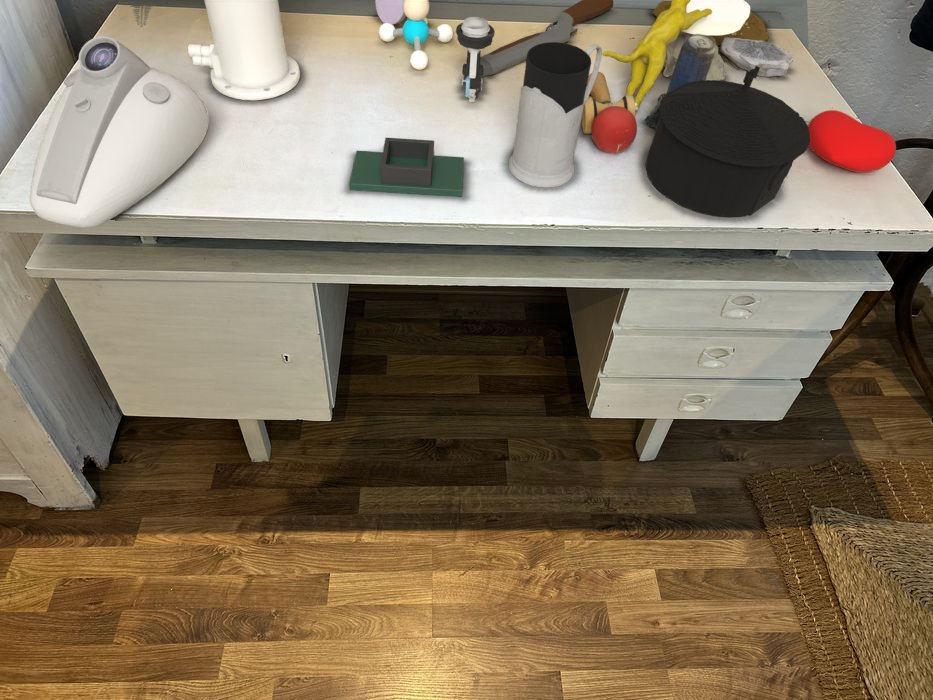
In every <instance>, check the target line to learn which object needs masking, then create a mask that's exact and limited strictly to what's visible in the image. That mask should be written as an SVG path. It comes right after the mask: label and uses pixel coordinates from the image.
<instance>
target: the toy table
mask: <svg viewBox="0 0 933 700" xmlns="http://www.w3.org/2000/svg"><path fill="white" fill-rule="evenodd" d="M374 2H375V10H376V14H377V16H378V17H379V19H380V21H382V22H383V24H384V23H390V24H392V25H393V26H394V25H396V24H400V23H401V22H403V21H404V19H405V18H406V17H407V16H406V15H405V13H404V11H403V0H375V1H374ZM423 20H424V21H425V22H426V23H427V25H428V24H429V20H428V17H427V16H426V17H425V18H424V19H423Z"/></svg>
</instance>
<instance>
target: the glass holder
mask: <svg viewBox="0 0 933 700" xmlns="http://www.w3.org/2000/svg"><path fill="white" fill-rule="evenodd" d="M594 50H596V54H595V61H594V64H593V68H592V72H591V73H592V75H591V78H590V81H589V83H588V86H587V82H588V77H589V75H590V71H591V66H592V59H591V56H590V55H591V54H592V53H593V51H594ZM602 57H603V48H602V47H601V46H600V45H599V44H591V45H589V46H588V47H587V48H586V49H585V50H583V48H580V47H578V46H576V45H573V44H569V43H566V42H565V43H558V42H548V43H542V44H538V45H536V46H534V47H532V48H531V49H530V50H529V51H528V53H527V59H526V60H525V66H524V67H525V68H524V75H523V83H522V84H523V85H522V87H521V89H520V96H519V104H518V111H517V120H516V128H515V134H514V135H515V136H514V144H513V152H512V154H511V156H510V157H509V160H508V164H507V165H508V169H509V172H510V173H511V174H512V175H513V176H514V178H516V179H517V180H518V181H520V182H522V183H524V184H526V185H529V186H532V187H537V188H554V187H559V186H561V185H564V184H566V183H568V182H569V181H571V179H572V178H573V176H574V174H575V165H574V157H575V152H576V148H577V142H578V137H579V132H580V128H581V124H582V114H583V109H584V104H585V103H586V101H587V99H588V97H590V95H591V93H590V92H591V90H592V88H593V85H594V83H595V80H596V77H597V74H598V72H600V66H601V62H602ZM586 86H587V87H586Z"/></svg>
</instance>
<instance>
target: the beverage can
mask: <svg viewBox="0 0 933 700" xmlns="http://www.w3.org/2000/svg"><path fill="white" fill-rule="evenodd" d="M714 55H715V43H714V41H713V39H711V38H710V37H708V36H706V35H702V34H695V35H694V36H690V37H688V38H687V39H686V40H685V41H684V43H683V44H682V47H681V50H680V53H679V56H678V59H677V62H676V65H675V68H674V72H673V75H672V76H671V78H670V81H669V84H668V87H667V91H666V93H665V92H664V93H661V94H659V96H658V97H657V104H656V105H655V106H654V107H653V109H652V111H651V113H650V114H649V115H646V117H645V119H644V122H645V123H644V124H647V126H648V128H653V129H655V130H656V128H657V125H658V121H659V118H660V113H659V106H660V101H661V100H662V98H663V97H664V96H665V94H667V93H669V92H670V91H672V90H674V89H676V88H678V87H680V86H682V85H684V84H686V83H689V82H694V81H700V80H703V81H705V80H706V77H707V74H708V71H709V69H710V66H711V63H712V60H713V58H714Z"/></svg>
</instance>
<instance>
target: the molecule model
mask: <svg viewBox="0 0 933 700" xmlns="http://www.w3.org/2000/svg"><path fill="white" fill-rule="evenodd" d="M403 11H404V13H405V15H406V17H407V19H406V20H405V22H404V23H403V25H402V27H399V28H396V27H395V26H394V24H393V25H392V24H390V23H384V22H383V23H382V24H381V25H380V26H379V28H378V36H379V38H380V39H381V40H382V41H384V42H386V43H389V42H392V41H394V39H396V37H400V36H403V38H404V39H405V41H406V42H407V43H408V44H409V45H413V46H414V47H413V48H414V49H413V50H414V51H413V52H412V53H411V54H410V57H409V62H410V66H412V68H413V69H414V70H417V71H421V70H424V69H425V68H426V67H427V66H428V64H429V57H428V55H427V53H426V52H425V51H423V50H421V49H422V48H421V45H423V44H424V43H425V42H426V41H427V39H428V37H429V36H430V37H433V38H436V39H437V40H438V41H439V42H441V43H445V44H446V43H448V42H450V41H451V40H452V39H453V37H454V30H453V28H452V26H451V25H449V24H448V23H441V24H439V25H438V26H437V27H436V29H434V28H430V27H429V25H428V24H427V23H426V22H425V21H424V20H423V19H424V18H425V17H427V16H428V14H429V11H430V2H429V0H403Z"/></svg>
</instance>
